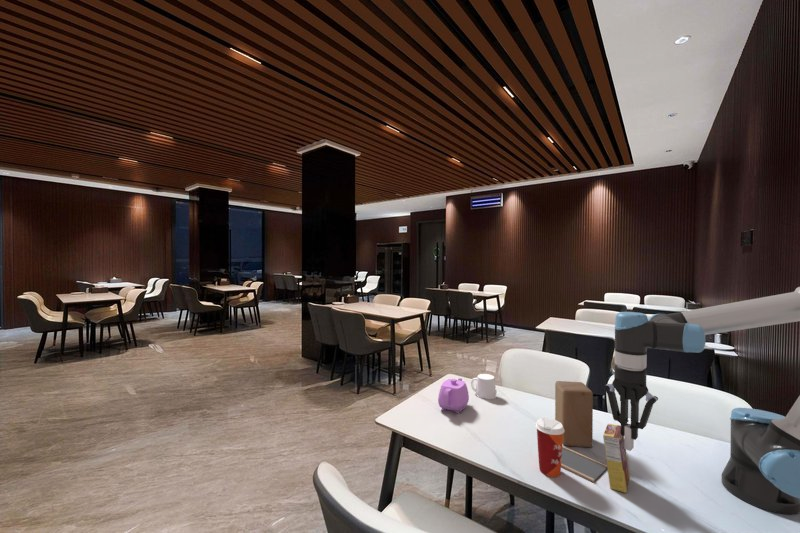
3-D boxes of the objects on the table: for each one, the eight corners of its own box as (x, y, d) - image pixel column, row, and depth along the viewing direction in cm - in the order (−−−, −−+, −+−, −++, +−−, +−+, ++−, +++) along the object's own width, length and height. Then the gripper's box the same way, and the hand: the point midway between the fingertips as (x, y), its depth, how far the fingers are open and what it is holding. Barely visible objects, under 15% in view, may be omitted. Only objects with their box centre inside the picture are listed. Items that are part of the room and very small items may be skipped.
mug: (497, 375, 162) (493, 380, 155) (497, 394, 162) (493, 400, 155) (473, 371, 168) (468, 376, 161) (473, 390, 168) (468, 395, 161)
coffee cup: (562, 483, 98) (562, 432, 98) (533, 473, 102) (533, 425, 102) (565, 467, 105) (566, 420, 105) (538, 459, 109) (538, 414, 109)
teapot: (460, 420, 137) (459, 389, 136) (432, 413, 143) (431, 384, 143) (474, 401, 154) (474, 374, 154) (448, 396, 160) (448, 370, 160)
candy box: (613, 473, 102) (607, 422, 103) (630, 477, 100) (624, 425, 100) (608, 488, 96) (602, 434, 96) (626, 493, 93) (620, 438, 93)
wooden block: (593, 448, 115) (593, 391, 115) (563, 446, 117) (563, 390, 117) (582, 433, 125) (582, 381, 125) (554, 431, 127) (554, 379, 126)
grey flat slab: (608, 467, 105) (608, 465, 105) (593, 482, 98) (593, 480, 98) (557, 445, 117) (557, 443, 117) (541, 457, 111) (541, 455, 111)
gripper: (662, 369, 92) (660, 453, 93) (609, 358, 102) (608, 434, 103) (654, 375, 87) (652, 464, 88) (599, 363, 98) (598, 443, 98)
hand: (628, 448), depth 95 cm, fingers closed
